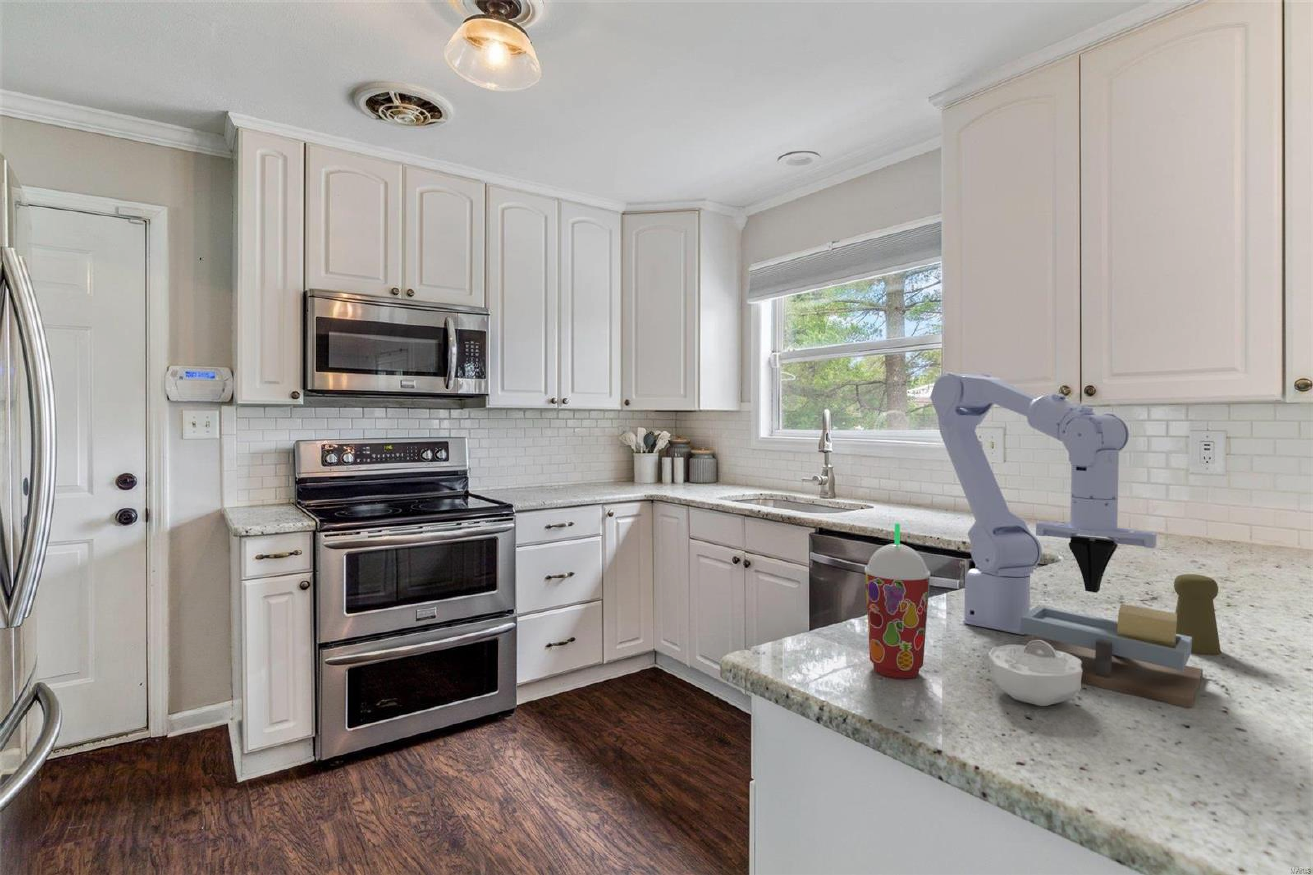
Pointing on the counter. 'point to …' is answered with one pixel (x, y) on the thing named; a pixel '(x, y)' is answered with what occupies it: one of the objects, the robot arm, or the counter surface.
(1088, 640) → the beam
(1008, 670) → the cell model
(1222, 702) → the counter surface
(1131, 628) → the block
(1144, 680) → the stand
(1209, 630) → the cork
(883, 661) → the smoothie
